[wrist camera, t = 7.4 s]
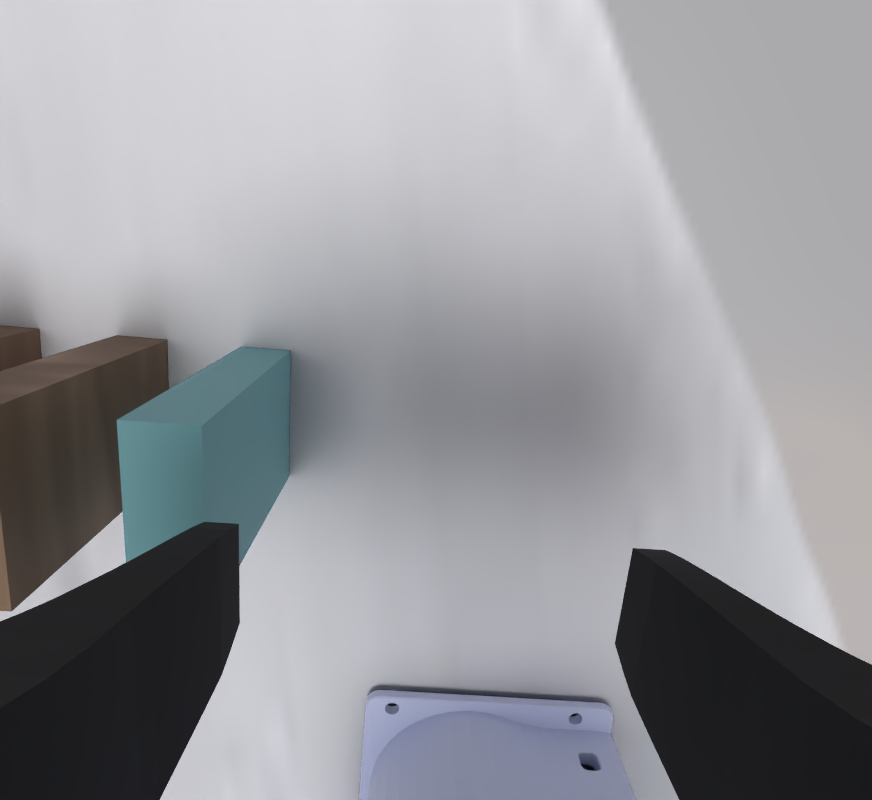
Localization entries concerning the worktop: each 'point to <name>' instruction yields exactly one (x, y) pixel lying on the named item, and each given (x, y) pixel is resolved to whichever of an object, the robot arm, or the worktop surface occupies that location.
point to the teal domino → (207, 451)
